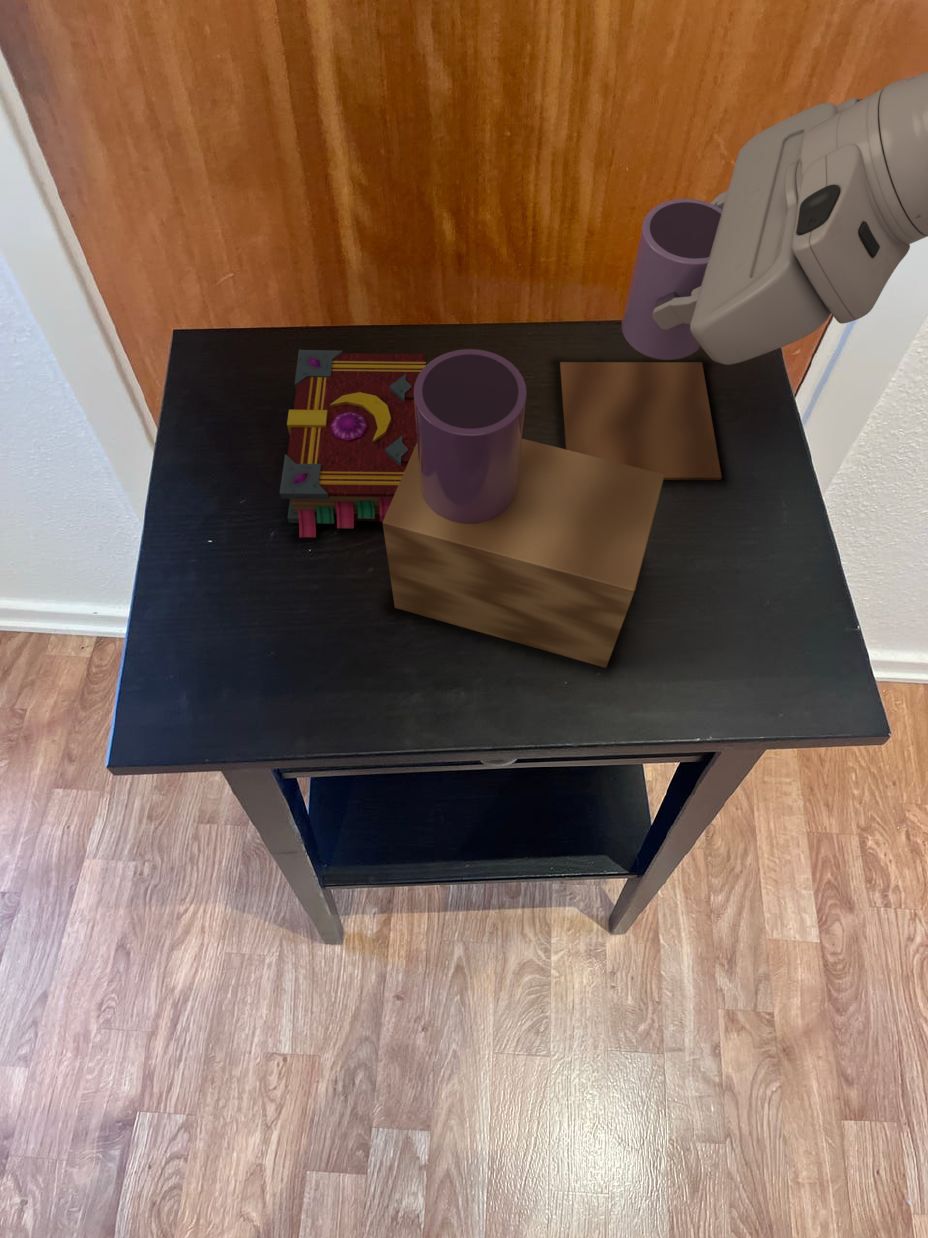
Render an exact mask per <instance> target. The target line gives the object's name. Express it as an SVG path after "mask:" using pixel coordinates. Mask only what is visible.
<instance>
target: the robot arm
mask: <svg viewBox="0 0 928 1238" xmlns="http://www.w3.org/2000/svg"><path fill="white" fill-rule="evenodd" d="M709 203H710V204H713V205H715V206H717V207H719V208H720V209H722V213H721V217H720V220H719V224H718V228H717V231H716V235H715V238H714V242H713V245H712V249H711V253H710V256H709V260H708V263H707V267H706V271H705V274H704V278H703V281H702V285H701V286H700V287H698V288H696V289H694V290H693V291H692V293H691V296H690V297H679V295H678V294H677V293H676V292H675V291H674V292H672V293H669V294H667V295H666V296H665V297H660V298H659V299H658V300H657V302H656V305H655V308H654V311H653V314H652V318H653V319H654V321H655V322H656V323H657V324H658V326H659V327H660V328H661V329H663V330H669V329H671V328H673V327H676V326H678V325H680V324H682V323H684V324H690V331H691V333H692V335H693V336H694V337H695V339H696V340H697V342H698V343H699V344H700V346H701V347H700V348H701V349H702V350H704V353H706V355H707V356H708V357H709V358H710V359H711V360H712V361H713V362H715V363H717V364H722V365H725V366H731V365H736V364H739V363H740V364H741V363H742V362H745V361H749V360H752V359H754V358H757V357H760V356H762V355H766V354H768V353H771V352H773V351H777V350H778V349H781V348H784V347H786V346H789V345H790V344H794V343H796V342H798V341H800V340H802V339H804V338H806V337H808V336H810V335H811V334H813V333H814V332H816V331H817V330H818V329H820V328H821V327H822V326H823V325H824V324H825V323H826V322H827V321H828V319H829V318H830V316H831V315H832V316H833V318H834V319H835V321H836V322H837V323H838V324H843V325H845V324H848V323H851V322H854V321H856V320H859V319H861V318H864V317H865V316H867V315H868V314H869V313H870V312H871V311H872V310H873V308H874V307H875V305H876V304H877V302H878V300H879V297H880V296H881V294H882V292H883V290H884V288H885V287H886V285H887V284H888V282H889V280H890V278H891V276H892V275H893V273H894V272H895V270H896V269H897V267H898V266H899V264H900V263H901V262H902V261H903V260H904V258H905V257H906V256H907V254H908V253H909V251H910V248H911V245H912V244H914V243H916V242H919V241H920V240H922V239H925V238H927V237H928V70H927V71H925V72H923V73H920V74H918V75H915V76H912V77H909V78H908V77H907V78H903V79H899V80H896V81H894V82H891V83H889V84H888V85H886V86H884V87H882V88H880V89H878V90H877V91H875V92H873V93H871V94H869V95H867V96H866V97H864V98H857V97H851V98H849V99H847V100H845V101H843V102H841V103H840V104H839V103H838V105H836V104H835V103H833V102H829V101H827V102H821V103H818V104H816V105H813V106H811V107H808V108H806V109H804V110H802V111H799V112H797V113H795V114H794V115H791V116H789V117H787V118H785V119H783V120H781V121H779V122H777V123H776V124H773V125H771V126H769V127H768V128H766V129H764V130H762V131H759V132H758V133H756V134H755V135H753V136H752V137H751V138H750V139H749V140H748V141H747V142H746V143H745V144H744V145H743V146H742V147H741V148H740V149H739V150H738V152H737V157H736V159H735V163H734V167H733V171H732V174H731V179H730V181H729V185H728V189H727V190H725V191H723V192H721V193H719V194H718V195H717V196H716V197H715V198H714V199H713V200H712V201H711V202H709Z"/></svg>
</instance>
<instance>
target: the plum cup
mask: <svg viewBox="0 0 928 1238" xmlns="http://www.w3.org/2000/svg"><path fill="white" fill-rule="evenodd" d="M527 392H528V391H527V385H526V381H525V379H524V377H523V374H522V373H521V372H520V370H519V369H518V368H517V367H516V365H514V364H513V363H512V362H511V361H509V360H508V359H506V358H505V357H503V356H501V355H499V354H497V353H495V352H491V351H488V350H483V349H475V348H474V349H473V348H467V349H457V350H452V351H448V352H445V353H443V354H441V355H439V356H436V357H435V358H433V359H432V360H431V361H429V362H427V365H426V366H425V367H424V368H423V369H422V371H421V372H420V374H419V375H418V377H417V379H416V382H415V385H414V404H415V419H416V433H417V447H418V462H419V476H420V489H421V493H422V496H423V498H424V500H425V502H426V503H427V504H428V506H429V507H430V508H431V509H432V510H433V511H434V512H435V513H437V514H438V515H440V516H441V517H443V518H445V519H448V520H450V521H454V522H458V523H466V524H472V523H480V522H485V521H488V520H490V519H493V518H495V517H497V516H498V515H500V514H501V513H503V512H504V511H505V510H506V509H507V508H508V507H509V506H510V505H511V503H512V502H513V500H514V498H515V495H516V493H517V488H518V478H519V468H520V457H521V447H522V439H523V435H524V425H525V418H526V417H525V416H526V406H527V396H528V395H527Z"/></svg>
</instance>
